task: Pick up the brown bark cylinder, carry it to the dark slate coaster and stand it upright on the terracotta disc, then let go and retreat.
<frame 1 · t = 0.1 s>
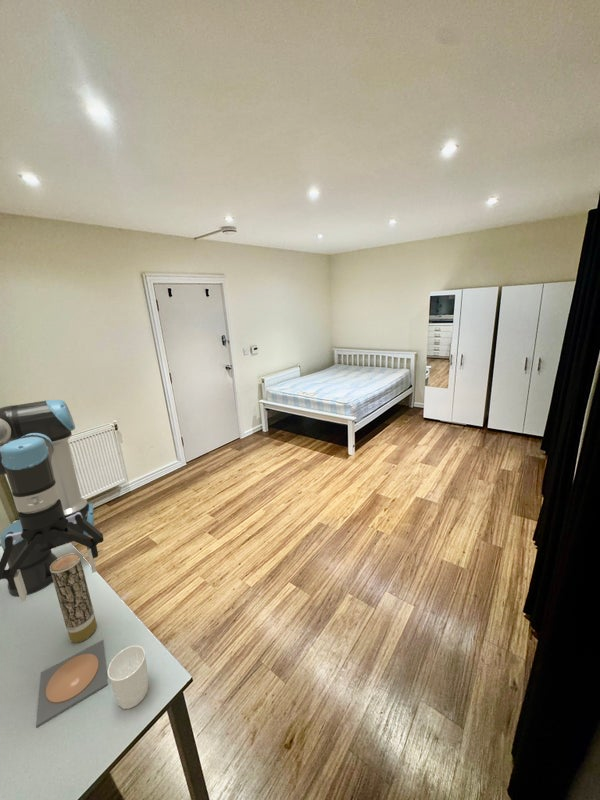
hand: (60, 582, 75), 28 cm above the table, fingers open, 13 cm apart
coaster: (74, 679, 79), on the table
white cup: (133, 693, 76), on the table
brown bark cylinder: (83, 633, 91), on the table
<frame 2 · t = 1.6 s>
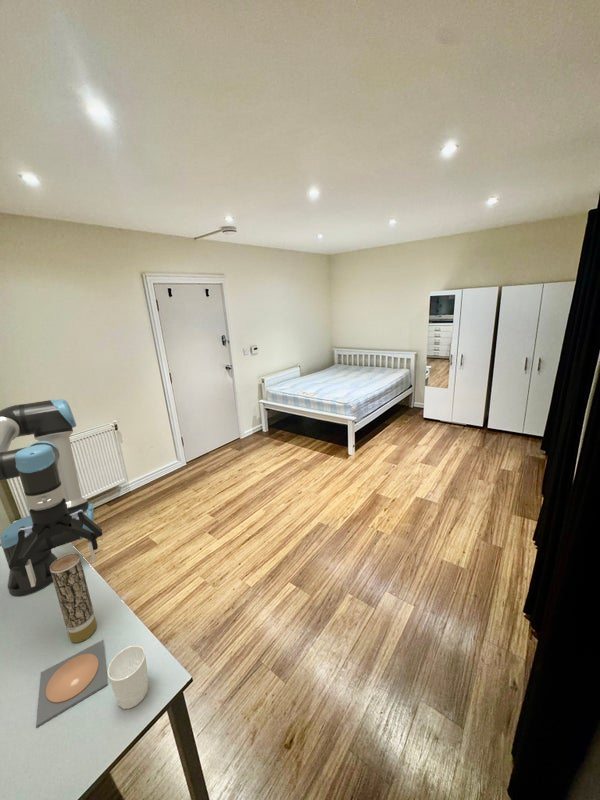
hand: (65, 571, 86), 22 cm above the table, fingers open, 13 cm apart
nothing on the table moved.
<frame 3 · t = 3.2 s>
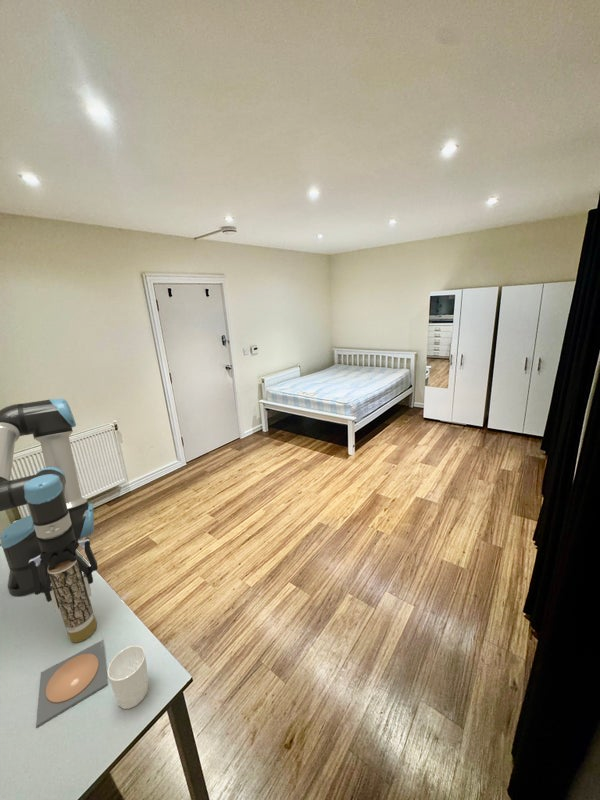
hand: (73, 599, 88), 12 cm above the table, fingers closed on brown bark cylinder, 7 cm apart
brown bark cylinder: (84, 632, 91), on the table, touching gripper
everything else where it was.
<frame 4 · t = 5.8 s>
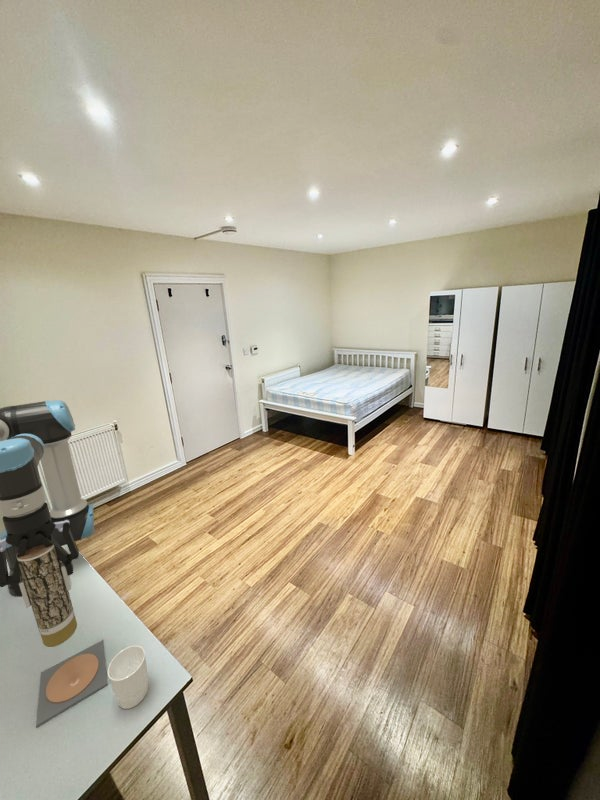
hand: (49, 594, 73), 27 cm above the table, fingers closed on brown bark cylinder, 7 cm apart
brown bark cylinder: (61, 635, 76), point 15 cm above the table, touching gripper
everything else where it was.
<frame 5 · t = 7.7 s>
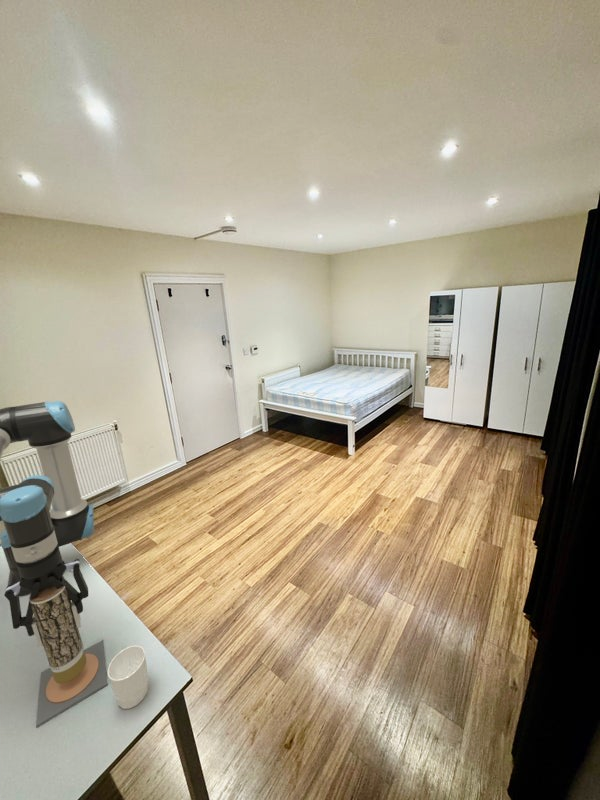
hand: (60, 632, 75), 15 cm above the table, fingers closed on brown bark cylinder, 7 cm apart
brown bark cylinder: (71, 670, 78), point 3 cm above the table, touching gripper
everything else where it was.
when the fingers open (14 cm above the table, at t = 8.8 s): brown bark cylinder stays where it is, resting on coaster.
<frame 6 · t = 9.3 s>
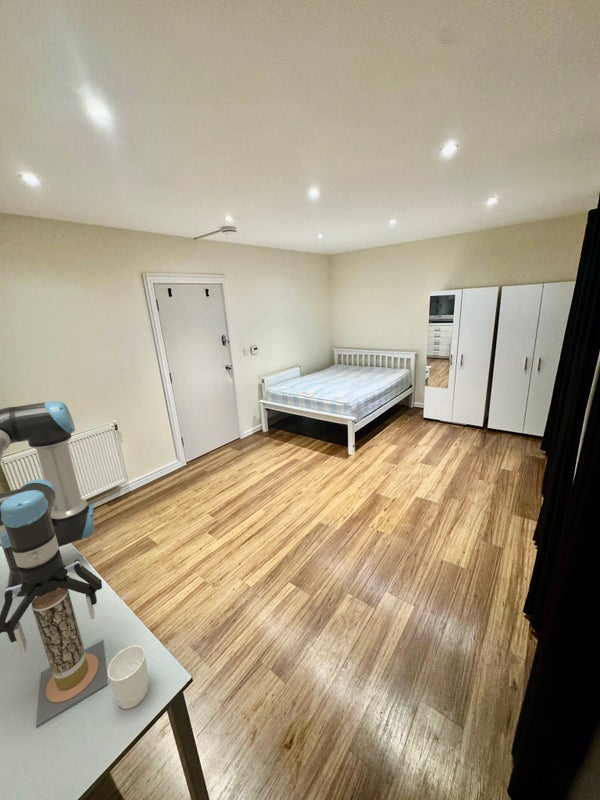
hand: (60, 630, 75), 16 cm above the table, fingers open, 13 cm apart
brown bark cylinder: (73, 676, 79), point 1 cm above the table, touching coaster
everything else where it was.
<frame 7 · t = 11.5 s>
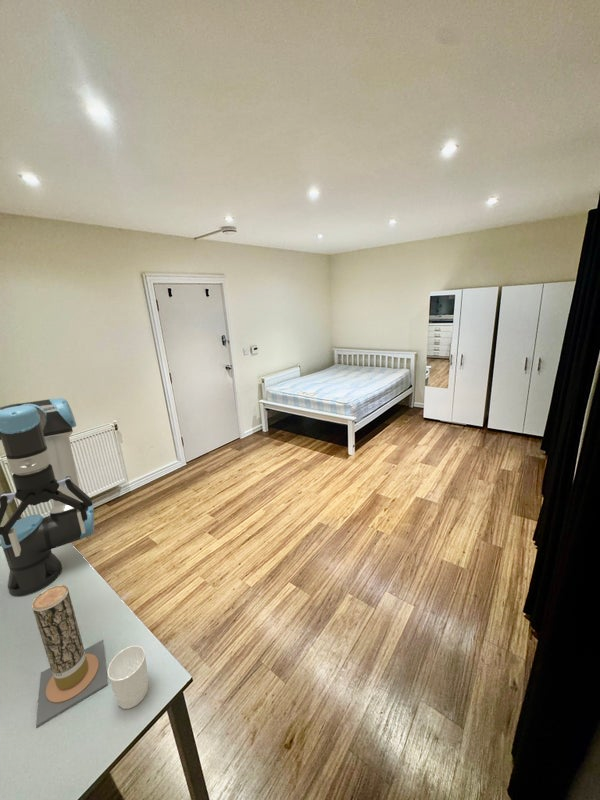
hand: (52, 541, 81), 34 cm above the table, fingers open, 13 cm apart
nothing on the table moved.
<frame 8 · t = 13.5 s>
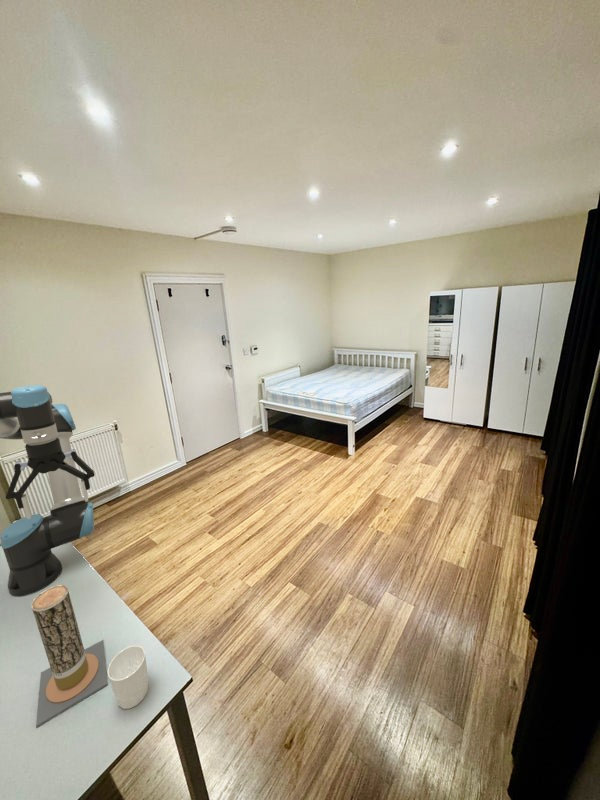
hand: (59, 507, 91), 37 cm above the table, fingers open, 13 cm apart
nothing on the table moved.
at the end: brown bark cylinder 0.1 cm from the coaster (horizontally); brown bark cylinder tilted 0°; the gripper is holding nothing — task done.
